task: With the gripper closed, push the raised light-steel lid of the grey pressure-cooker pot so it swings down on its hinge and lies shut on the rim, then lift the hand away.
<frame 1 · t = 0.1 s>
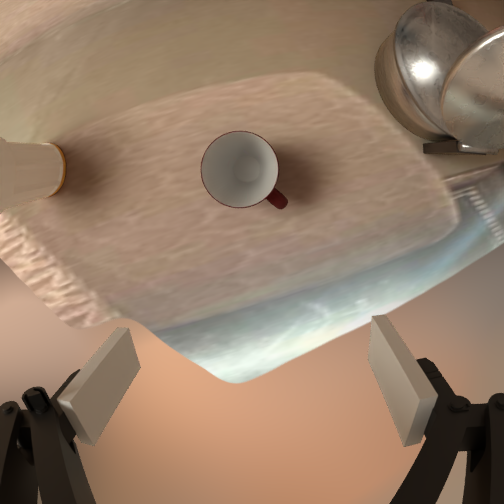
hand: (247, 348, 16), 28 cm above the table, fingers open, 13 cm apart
mug: (254, 173, 41), on the table
pot: (429, 83, 35), on the table
cup 2: (47, 169, 42), on the table
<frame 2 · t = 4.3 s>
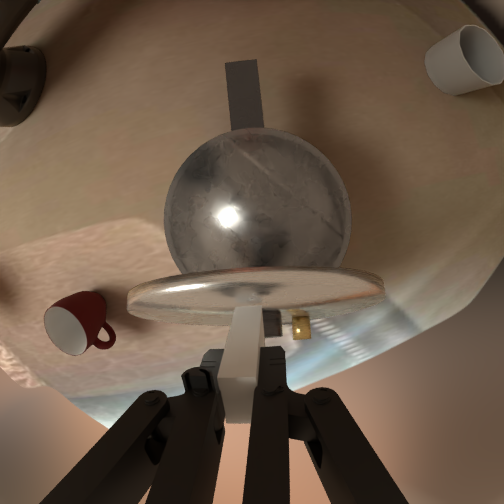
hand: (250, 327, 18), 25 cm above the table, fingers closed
mug: (102, 306, 46), on the table
lid: (258, 320, 24), point 19 cm above the table, hinge at 55.9°, touching gripper
pot: (260, 210, 41), on the table
cup: (447, 70, 33), on the table
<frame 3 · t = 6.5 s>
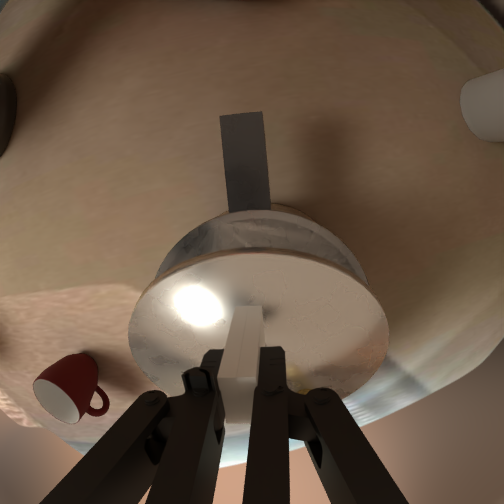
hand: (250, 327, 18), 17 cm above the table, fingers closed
mug: (94, 367, 41), on the table
lid: (259, 375, 21), point 15 cm above the table, hinge at 19.1°, touching gripper
pot: (263, 282, 35), on the table
cup: (483, 110, 28), on the table
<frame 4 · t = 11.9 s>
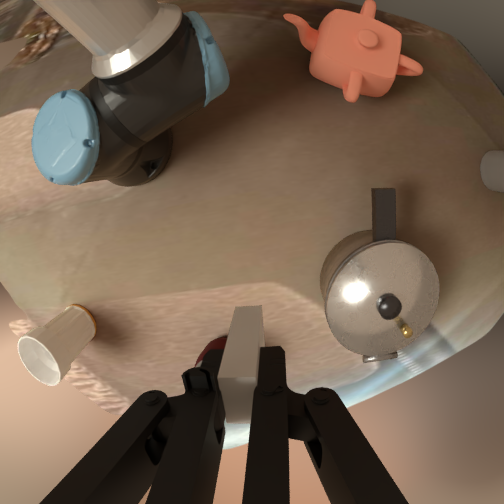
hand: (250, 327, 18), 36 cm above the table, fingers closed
mug: (229, 348, 60), on the table
lid: (387, 309, 43), point 12 cm above the table, hinge at -0.1°
teapot: (342, 63, 45), on the table
pot: (367, 278, 54), on the table
cup 2: (80, 321, 62), on the table
cup: (493, 170, 47), on the table
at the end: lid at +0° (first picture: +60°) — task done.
